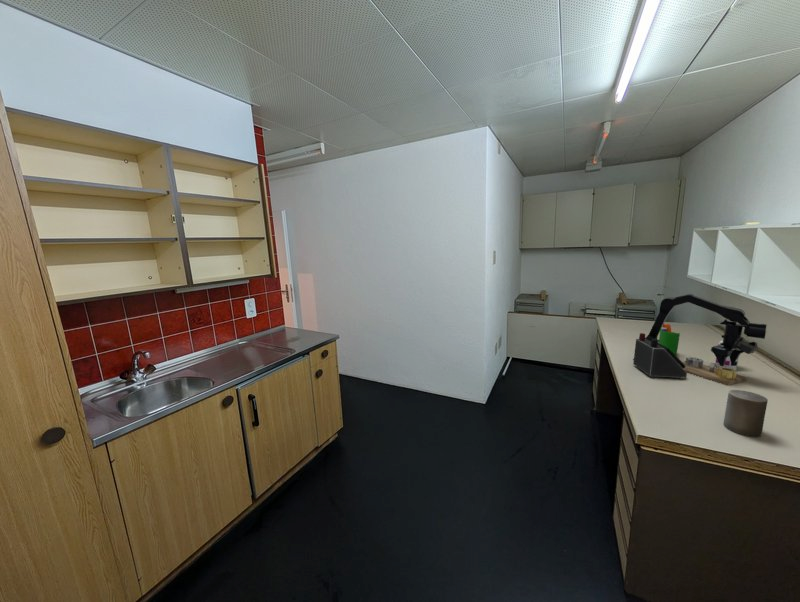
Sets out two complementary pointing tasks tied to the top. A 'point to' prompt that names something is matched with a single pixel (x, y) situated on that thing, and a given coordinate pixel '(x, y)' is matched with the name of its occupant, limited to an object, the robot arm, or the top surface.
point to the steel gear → (694, 363)
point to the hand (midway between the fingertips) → (727, 364)
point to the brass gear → (726, 373)
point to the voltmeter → (657, 359)
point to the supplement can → (727, 361)
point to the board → (712, 374)
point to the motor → (669, 338)
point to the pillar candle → (745, 413)
